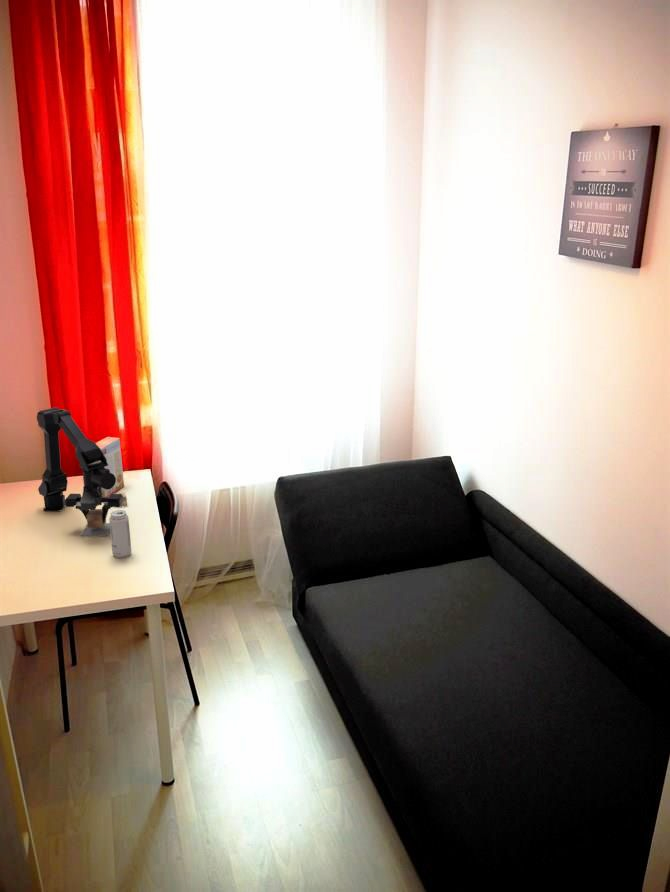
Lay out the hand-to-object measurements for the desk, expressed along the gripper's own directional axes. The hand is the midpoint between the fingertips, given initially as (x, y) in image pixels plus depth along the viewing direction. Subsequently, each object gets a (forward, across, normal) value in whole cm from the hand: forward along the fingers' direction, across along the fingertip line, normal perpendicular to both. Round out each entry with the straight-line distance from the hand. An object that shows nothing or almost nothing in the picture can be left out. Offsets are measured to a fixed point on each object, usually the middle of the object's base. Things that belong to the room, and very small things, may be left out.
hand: (96, 522), depth 262 cm
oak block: (+3, +3, +22) cm, 22 cm away
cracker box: (+3, -5, +34) cm, 34 cm away
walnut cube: (+1, 0, 0) cm, 1 cm away
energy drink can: (+3, +13, -18) cm, 22 cm away
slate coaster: (+3, 0, 0) cm, 3 cm away
